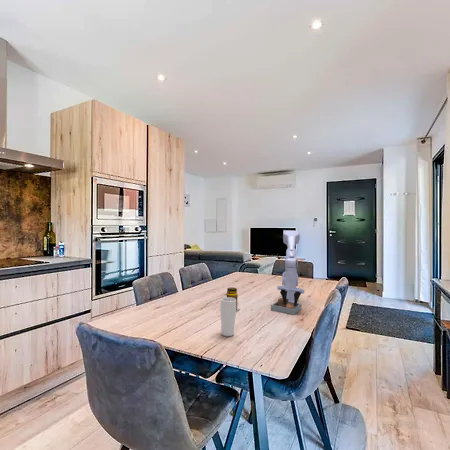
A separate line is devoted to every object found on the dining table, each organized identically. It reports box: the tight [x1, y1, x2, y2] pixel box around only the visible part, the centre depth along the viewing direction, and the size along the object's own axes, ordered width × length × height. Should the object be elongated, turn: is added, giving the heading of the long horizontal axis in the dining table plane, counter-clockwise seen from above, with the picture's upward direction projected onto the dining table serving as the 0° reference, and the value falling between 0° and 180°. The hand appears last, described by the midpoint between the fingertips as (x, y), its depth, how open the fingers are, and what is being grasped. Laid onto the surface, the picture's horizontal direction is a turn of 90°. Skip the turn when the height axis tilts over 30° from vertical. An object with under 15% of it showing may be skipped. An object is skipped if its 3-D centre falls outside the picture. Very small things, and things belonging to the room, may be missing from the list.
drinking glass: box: [219, 297, 237, 337], centre depth 121 cm, size 7×7×15 cm
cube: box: [277, 297, 288, 307], centre depth 162 cm, size 4×4×4 cm
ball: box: [286, 303, 294, 309], centre depth 154 cm, size 4×4×4 cm
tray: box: [270, 300, 303, 316], centre depth 158 cm, size 13×13×3 cm
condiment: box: [225, 287, 240, 312], centre depth 155 cm, size 7×8×12 cm
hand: (290, 304), depth 154 cm, fingers open, 5 cm apart
